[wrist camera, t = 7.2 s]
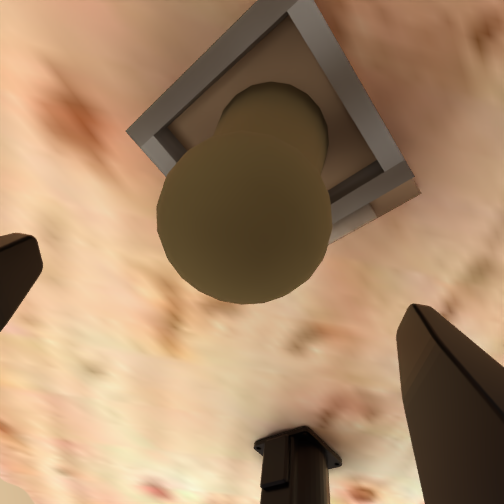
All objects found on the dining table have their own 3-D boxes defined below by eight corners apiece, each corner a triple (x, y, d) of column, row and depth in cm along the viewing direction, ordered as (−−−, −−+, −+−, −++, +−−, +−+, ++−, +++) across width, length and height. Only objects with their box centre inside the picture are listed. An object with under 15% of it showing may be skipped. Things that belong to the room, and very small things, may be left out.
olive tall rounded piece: (312, 61, 16) (320, 88, 7) (340, 180, 19) (374, 316, 9) (197, 106, 18) (77, 177, 8) (239, 209, 20) (183, 348, 11)
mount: (417, 188, 19) (433, 208, 17) (262, 275, 24) (257, 300, 21) (295, -23, 15) (293, -36, 13) (136, 131, 20) (113, 143, 17)
